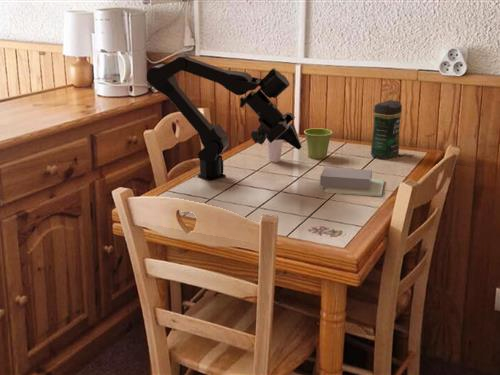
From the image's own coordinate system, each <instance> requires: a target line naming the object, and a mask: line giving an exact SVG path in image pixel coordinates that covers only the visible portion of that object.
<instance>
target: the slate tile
mask: <svg viewBox="0 0 500 375" xmlns="http://www.w3.org/2000/svg"><path fill="white" fill-rule="evenodd" d="M372 179H373V169H360V168H344V167H341V168H340V167H330V166H329V167H328V166H324V167H323V169H322V172H321V173H320V179H319V184H320V185H319V186H320V187H321V188H326V187H327V188H341V189H355V190H368V189H370V185H371V181H372Z"/></svg>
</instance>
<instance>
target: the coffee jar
mask: <svg viewBox="0 0 500 375" xmlns="http://www.w3.org/2000/svg"><path fill="white" fill-rule="evenodd" d="M402 107H403V105H402V104H401V102H400V101H398V100H393V99H388V100H386V101H382V102H377V103H376V104H375V105H374V108H373V132H372V141H371V150H370V155H371V156H372V157H374V158H377V159H387V160H388V159H391V158H393V157H396V156H398V155H399V152H400V126H401V123H400V122H401V117H402V113H403V112H402V109H403V108H402Z"/></svg>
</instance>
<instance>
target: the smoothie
mask: <svg viewBox="0 0 500 375" xmlns="http://www.w3.org/2000/svg"><path fill="white" fill-rule="evenodd" d="M265 141H266V146H267V147H266V149H267V155H268V161H269V162H270V163H279V162H281V158H282V157H281V156H282V150H283V143H284V140H274V141H273V142H272V143H270V142H269V141H268V140H267V139H266V140H265Z"/></svg>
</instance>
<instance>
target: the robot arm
mask: <svg viewBox="0 0 500 375" xmlns="http://www.w3.org/2000/svg"><path fill="white" fill-rule="evenodd" d="M181 71H183V72H186V73H189V74H192V75H195V76H196V77H197V76H198V77H199V78H203V79H205V80H208V81H211V82H214V83H217V84H218V85H221V86H222V87H223V88H224V89H226V90H227V91H229V92H230V93H232V94H234V95H236V96H241V97H240V98H239V108H241V109H242V108H244V107H245V105H247V106H248V107H249V108H250V110H252V111H253V112H254V114H255V115H256V116H257V117H258V119H257V120H258V121H257V122H259V126H258V128H257V129H253V130H252V132H251V134H250V136H251V138H252V141H253V142H254V143H255V144H259V145H262V146H263V144H264V143H265V141H266V139H267V140H268V141H269V142H270V143H272V142H273V141H274V140H283V142H285V143H287V144H289V145H291V146H292V147H294V148H295V149H297V150H298V151H299V150H300V149H302V145H301V142H300V139H299V135H298V132H297V129H296V126H295V123H294V122H292V121H293V120H295V118H296V117H295V115H294V114H293V113H292V112H286V113H284V114H283V113H282V112H281V111H280V109H278V105H277V104H276V103H273V102H272V101H271V98H273V99H277V98H278V97H279V96H280V95H281V94H282V93H283V92H284V91H285V90H286V89H288V87H290V86H291V84H290V82H289V80H288V78H287V77H286V76H285V75H284V74H282V73H281V72H280V71H278V70H276V68H275V67H274V68H271V69H270V70H269V71H268V73H267V74H266V75H265V76H264V77H262V78H259V77H253V76H252V75H251V74H250V73H248V72H246V71H245V72H244V71H241V70H229V69H223V68H221V67H218V66H214V65H212V64H211V63H210V64H209V63H206V62H204V61H200V60H198V59H195V58H193V57H190V56H188V55H187V54H183V55H180V56H178V57H176V58H175V59H174V60H172V61H170V62H168V63H166V64H163V63H162V64H157V65H156V66H153V67H150V68H149V69H148V70H147V73H146V81H147V83H148V84H149V85H150V86H151V87H152V88H154V89H155V90H156V91H157V92H159V93H160V94H163V95H164V96H166V97H167V98H168V100H170V102H171V103H172V104H173V105H174V107H175V108H176V109H177V110H178V111H179V113H180V114H182V116H183V117H184V118H185V120H187V121H188V123H189V124H190V126H192V128H193V129H194V130H195V131H196V133H197V134H198V137H199V141H200V143H201V144H202V146H203V148H202V149H201V150H199V152H197V157H198V160H199V173H197V175H196V176H197V177H199V178H201V179H204V180H207V181H214V180H217V179H222V178H225V177H226V176H227V175H226V174H224V160H223V156H222V154H223V152H224V150H226V149H227V148H228V146H229V143H230V139H229V136H228V132H226V131H225V130H224V128H223V127H222V126H221V124H220V123H216V125H215V124H212V123H211V122H210V121H209V120H208V119H207V118H206V116H204V114H203V113H202V112H201V111H200V110H199V109H198V107H197V106H196V105H195V104H194V103H193V101H192V100H191V99H190V98H189V97H188V96H187V94H186V93H185V92H184V90H182V88H180V86H179V84H178V80H177V78H176V76H175V75H176V74H178V73H180V72H181ZM258 87H260V88H259V89H258V90H257V91H255V90H256V89H257V88H258ZM248 92H249V93H248ZM247 93H248V94H247ZM245 94H247V95H246V96H243V95H245ZM290 123H291V124H290Z"/></svg>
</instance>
